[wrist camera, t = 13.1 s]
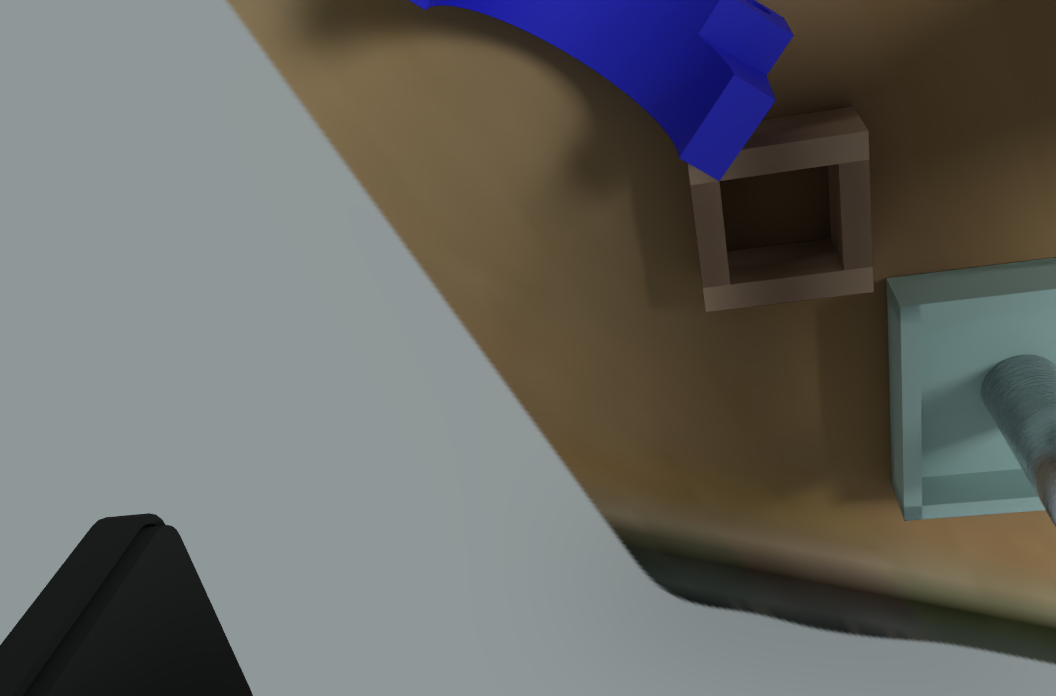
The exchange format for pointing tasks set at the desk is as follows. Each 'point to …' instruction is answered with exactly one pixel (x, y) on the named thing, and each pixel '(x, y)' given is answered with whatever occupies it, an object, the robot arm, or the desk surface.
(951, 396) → the tray
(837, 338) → the desk surface
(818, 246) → the socket
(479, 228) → the desk surface
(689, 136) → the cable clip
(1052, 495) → the flashlight
